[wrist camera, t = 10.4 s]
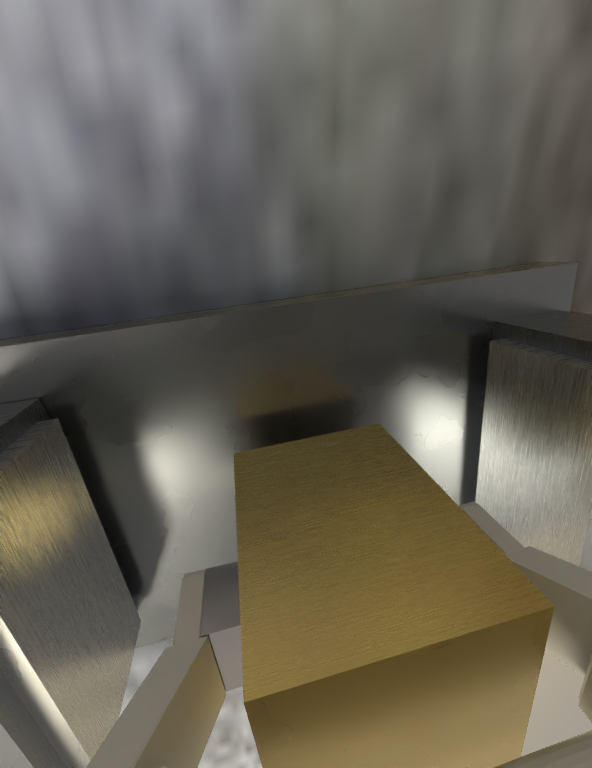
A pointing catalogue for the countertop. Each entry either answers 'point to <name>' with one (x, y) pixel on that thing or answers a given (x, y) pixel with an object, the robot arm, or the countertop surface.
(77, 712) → the jaw
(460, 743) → the block
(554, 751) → the robot arm
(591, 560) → the vise
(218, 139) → the countertop surface
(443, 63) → the countertop surface
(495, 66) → the countertop surface
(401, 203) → the countertop surface
